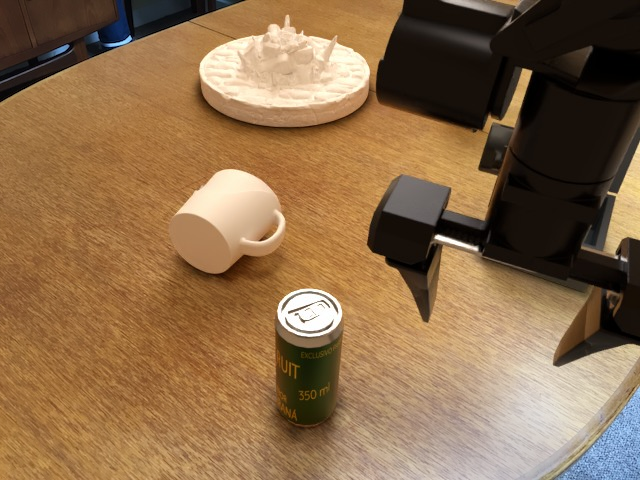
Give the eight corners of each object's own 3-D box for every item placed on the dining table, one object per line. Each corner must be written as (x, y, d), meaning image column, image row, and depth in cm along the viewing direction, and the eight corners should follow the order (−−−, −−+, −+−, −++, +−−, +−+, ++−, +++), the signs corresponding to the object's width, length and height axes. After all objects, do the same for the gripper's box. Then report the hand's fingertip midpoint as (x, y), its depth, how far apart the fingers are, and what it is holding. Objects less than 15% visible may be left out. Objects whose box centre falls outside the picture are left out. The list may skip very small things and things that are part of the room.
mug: (167, 258, 67) (156, 201, 62) (213, 213, 74) (207, 158, 68) (260, 293, 63) (257, 236, 58) (300, 242, 70) (301, 187, 65)
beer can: (314, 369, 56) (318, 277, 48) (348, 410, 53) (359, 319, 45) (264, 396, 54) (261, 303, 46) (297, 441, 50) (299, 350, 43)
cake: (182, 120, 90) (174, 60, 84) (220, 47, 112) (216, -6, 105) (366, 134, 89) (372, 74, 83) (369, 57, 111) (374, 5, 104)
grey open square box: (584, 292, 65) (602, 253, 62) (480, 257, 69) (492, 218, 65) (599, 234, 73) (616, 196, 69) (506, 205, 77) (517, 167, 73)
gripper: (734, 128, 36) (628, 305, 46) (431, 59, 40) (396, 234, 50) (763, 238, 28) (627, 422, 38) (381, 137, 32) (352, 326, 42)
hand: (489, 339), depth 42 cm, fingers open, 9 cm apart
